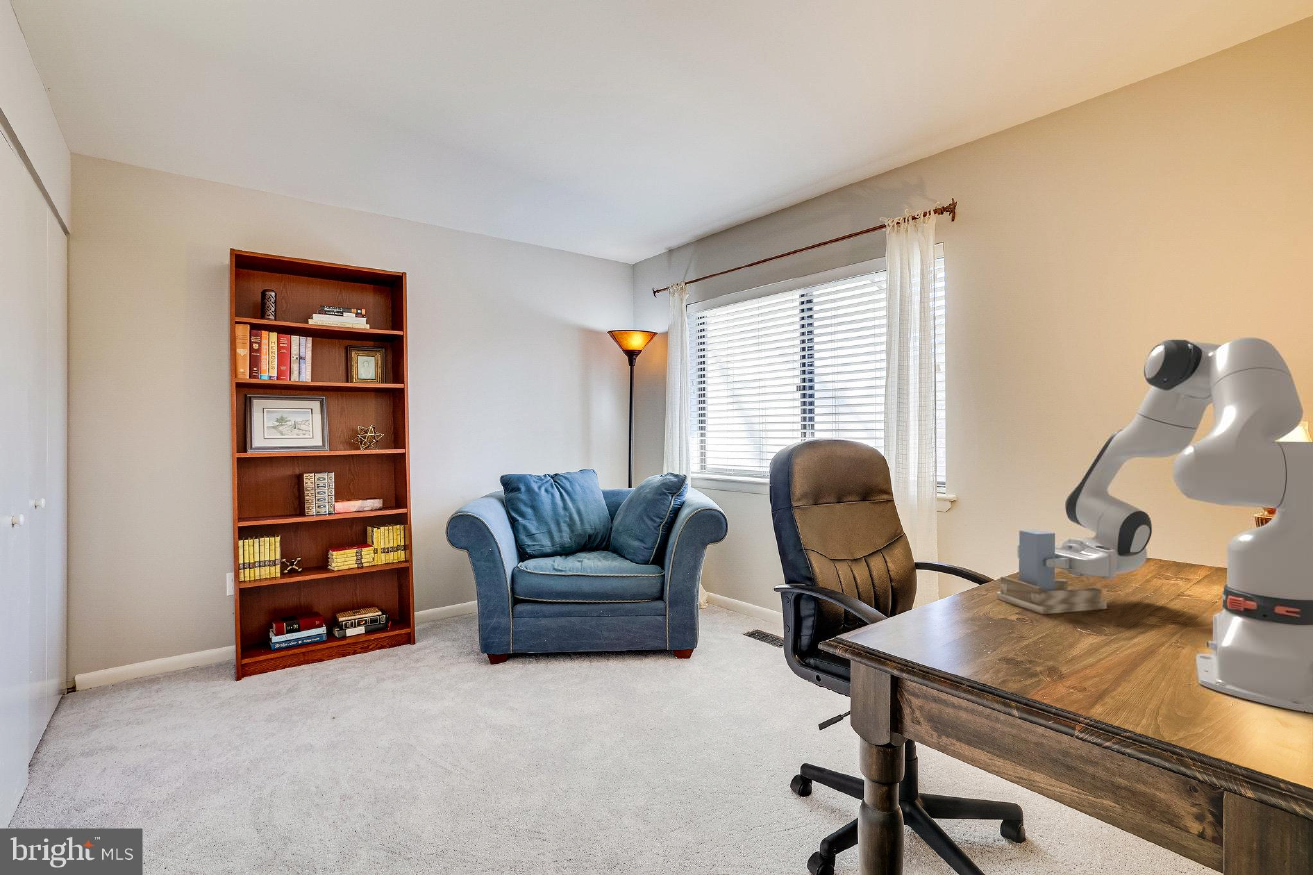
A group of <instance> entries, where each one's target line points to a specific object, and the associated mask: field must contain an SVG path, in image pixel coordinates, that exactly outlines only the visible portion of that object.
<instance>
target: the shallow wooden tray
mask: <svg viewBox="0 0 1313 875" xmlns="http://www.w3.org/2000/svg"><path fill="white" fill-rule="evenodd" d="M1068 585H1069V584H1068V580H1066V579H1062V578H1057V579H1055V582H1054V591H1045V592H1042V588H1041V587H1038V586H1035V585H1031V584H1028V583H1024V582H1021V581H1019V580H1016V579H1014V578H1011V577H1007V576H1000V591H998V592H996V598H995V599H997V600H1000V601H1003V602H1005V603H1008V604H1011V605H1014V606H1018V607H1021V608H1023V609H1027V610H1030V611H1032V612H1035V613H1038V614H1041V615H1046V614H1059V613H1070V612H1071V613H1072V612H1082V611H1083V612H1084V611H1094V610H1095V611H1096V610H1105V609H1108V606H1107V603H1108V602H1107V601H1104V600H1102V598H1103V597H1102V596H1103V589H1100V588H1098V587H1090V588H1089V587H1088V588H1075V589H1072V588H1071V589H1068V587H1069V586H1068Z"/></svg>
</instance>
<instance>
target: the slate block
mask: <svg viewBox="0 0 1313 875" xmlns="http://www.w3.org/2000/svg"><path fill="white" fill-rule="evenodd" d="M1018 533H1019V537H1018V538H1019V539H1018V542H1019V543H1018V545H1019V558H1018V581H1021V582H1024V583H1028V584H1031V585H1035V586H1038V587H1041V588H1042V592H1045V591H1054V582H1055V576H1056V575H1055V574H1056V573H1055V572H1056V571H1055V569H1056V567H1046V566H1044V565H1043V559H1044V558H1052V559H1055V546H1056V533H1055V532H1050V531H1046V530H1040V529H1027V530H1026V529H1025V530H1019V531H1018Z"/></svg>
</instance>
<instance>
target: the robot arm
mask: <svg viewBox="0 0 1313 875" xmlns="http://www.w3.org/2000/svg"><path fill="white" fill-rule="evenodd" d="M1143 375H1144V378H1145V380H1146V383H1148V385H1150V388H1149V389H1148V391H1147V393H1146V395H1145V396H1144V398H1143V400H1142V402H1141V404H1140V406H1139V408H1138V410H1137V412H1136V414H1135V416H1134V418H1133V419H1132V421H1131V422H1130V423H1129V424H1128V425H1127V426H1126V427H1125V428H1124V429H1118V430H1117V431H1115V432H1114V433H1112V435H1111V436H1109V438H1108V439H1107V441H1106V442H1105V443H1104V445H1103V446H1102V448H1101V449H1100V451H1099V453H1098V454H1097V455H1096V457H1095V459H1094V460H1093V462H1092V464H1091V465H1090V467H1089V468H1088V470H1087V471H1086V473H1085V474H1084V476H1083V478H1082V479H1081V480H1080V482H1079V483H1078V484H1077V486H1076V487H1075V488H1074V489H1073V490H1072V491H1071V492H1070V494H1068V496H1067V498H1066V501H1065V507H1064V509H1065V513H1066V516H1067V519H1068V520H1069V521H1070V522H1072V523H1074V524H1076V525H1078V526H1080V527H1083V528H1085V529H1088V530H1090V531H1091V532H1093V533H1094V534H1095V535H1094V536H1093V537H1080V538H1078V537H1077V538H1075V537H1074V538H1069V539H1066V540H1065V541H1064V542H1063V543H1062V544H1061V546H1056V545H1055V559H1052V558H1044V559H1043V565H1044V566H1046V567H1055V569H1061V570H1066V571H1067V572H1068V573H1069V574H1071V575H1072V576H1075V577H1096V578H1103V579H1111V580H1112V579H1115V578H1116V574H1117V575H1118V574H1125V573H1128V572H1129V573H1130V572H1132V571H1135V570H1137V569H1139V568H1140V567H1142V566H1143V565H1144V564H1145V562H1146V561H1147V558H1148V550H1147V548H1146V547H1147V546H1148V544H1149V543H1150V540H1151V538H1152V534H1153V532H1152V531H1153V524H1152V520H1151V518H1150V516H1149V514H1148V513H1147V512H1145V511H1143V510H1142V509H1140V508H1138V507H1136V506H1134V505H1132V504H1130V503H1128V502H1125V501H1123V500H1121V499H1119V498H1116V497H1115V496H1113V495H1111V494H1110V493H1109V490H1108V488H1109V486H1110V485H1111V483H1112V481H1113V480H1114V479H1115V477H1116V475H1117V474H1118V472H1119V471H1120V470H1121V468H1122V467H1123V465H1124V464H1125V463H1126V462H1127V461H1128V460H1131V459H1133V458H1134V459H1135V458H1153V459H1154V458H1155V459H1156V458H1157V459H1160V458H1169V457H1173V456H1175V455H1177V454H1178V455H1177V457H1176V458H1175V460H1174V462H1173V466H1172V477H1173V481H1174V483H1175V486H1176V487H1177V489H1179V491H1180V492H1181V494H1183V495H1184V496H1185V497H1186V498H1187V499H1188V500H1189V499H1190V500H1195V501H1199V502H1204V503H1209V504H1215V505H1220V506H1226V507H1227V506H1228V507H1229V506H1231V507H1233V506H1234V507H1250V508H1251V507H1252V508H1273V509H1275V513H1274V515H1273V517H1272V518H1271V519H1270V520H1269V521H1268V522H1267V523H1266V524H1264V525H1261V526H1258V527H1254V528H1251V529H1248V530H1244V531H1242V532H1240V533H1238V534H1237V535H1235V536H1234V537H1232V539H1231V540H1230V542H1228V545H1227V555H1226V556H1227V557H1226V558H1227V560H1226V562H1227V564H1226V565H1227V567H1226V568H1227V570H1226V574H1227V576H1226V584H1225V585H1223V592H1222V595H1221V596H1222V597H1221V598H1222V608H1223V610H1221V611H1219V612H1217V613H1216V614H1213V618H1212V619H1213V620H1212V623H1213V624H1212V641H1211V640H1208V642H1206V644H1207V645H1206V647H1207V648H1208V650H1212V654H1211V653H1197V654H1196V657H1195V663H1196V670H1197V671H1196V672H1197V678H1198V683H1199V684H1200V685H1202V686H1204V687H1206V688H1209V689H1211V690H1214V691H1217V692H1220V693H1224V694H1227V695H1230V696H1233V697H1236V698H1237V697H1238V698H1242V699H1245V700H1250V701H1252V702H1257V703H1261V704H1265V705H1270V706H1275V707H1279V708H1283V709H1288V710H1293V711H1298V712H1304V711H1305V713H1312V714H1313V441H1278V440H1280V439H1282V438H1283V437H1285V436H1287V435H1289V434H1290V433H1292V432H1293V431H1294V430H1296V428H1297V427H1298V426H1299V425H1300V424H1301V422H1302V420H1303V415H1304V410H1303V406H1302V404H1301V400H1300V397H1299V394H1298V390H1297V387H1296V385H1295V382H1294V378H1293V376H1292V373H1291V370H1290V369H1289V366H1288V365H1287V363H1286V361H1285V359H1284V358H1283V356H1282V355H1281V353H1280V352H1279V351H1278V349H1277V348H1276V347H1275V345H1273V344H1272V343H1271V342H1269V341H1267V340H1266V339H1262V338H1260V337H1259V338H1257V337H1241V338H1240V337H1239V338H1235V339H1232V340H1230V341H1227V342H1225V343H1223V344H1217V343H1209V342H1200V341H1199V342H1198V341H1189V340H1187V339H1167V340H1163V341H1161V342H1160V343H1158V344H1156V345H1155V346H1154V347H1153V348H1152V349H1151V351H1150V352H1149V354H1148V356H1147V358H1146V360H1145V363H1144V367H1143ZM1210 404H1212V406H1213V415H1214V423H1213V427H1212V429H1211V431H1210V432H1208V434H1206V436H1204V437H1203V438H1202V439H1200V440H1198V441H1196V442H1194V443H1192V441H1193V439H1194V437H1195V435H1196V432H1197V431H1198V428H1199V427H1200V424H1201V421H1202V419H1203V416H1204V413H1205V411H1206V409H1207V407H1208V406H1209V405H1210ZM1191 443H1192V444H1191ZM1016 551H1017V558H1018V559H1019V544H1017V550H1016Z"/></svg>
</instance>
